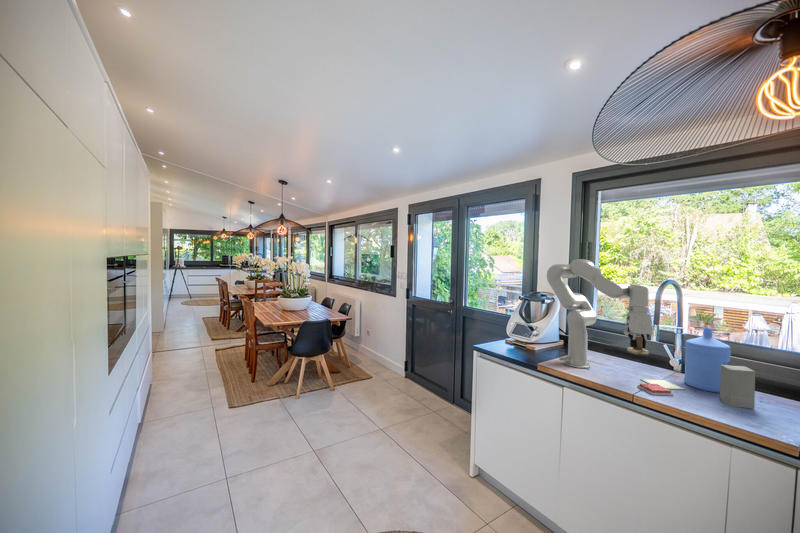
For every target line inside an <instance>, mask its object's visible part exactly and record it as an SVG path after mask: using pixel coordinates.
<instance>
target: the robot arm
mask: <svg viewBox="0 0 800 533" xmlns="http://www.w3.org/2000/svg"><path fill="white" fill-rule="evenodd" d="M577 277H580V278H582V279H583V280H585V281H587V282H589V283H590V284H591V285H592V286H593V287H594V288H595V289H596V290H597V291H599V292H601V294H604V295H605V296H607V297H609V298H612V299H628V307H626V310H627V311H628V312H627V313H626V319H625V328H624V330H623V332H622V333H623V334H624V335H626V336H627V337H628V339H630V340H629V341H630V344H629V345H630V348H636V346H637V340H635V338H636V336H637V335H640V337H643V348H642V349H646V345H647V344H646V343H647V340H648V338H650V337H651V336H652V335H654V332H653V320H652V316H651V313H649V291H650V290H649V286H648V285H646V284H630V283H622V282H621V283H616V282H614V281H612V280H610V279H608V278H606V277H605V275H604V271H603V270H602V269H600V268H599V267H596V266H595V264H594V263H593V262H592V260H589V259H584V258H583V259H581V258H577V259H574V260H572V261H571V262H570V263H569V264H561V263H559V264H552V265H551V266H550V267H549V268H548V269H547V272H546V279H547V283H548V284H549V286H550V287H551V289H552V291H553V292H554V294H555V296H556V298H557V300H558V301H559V303H560V304H561V306H562V307H563V308H564V309H565V310H570V312H568V313H567V316H566V319H567V320H566V322H567V326H568V335H567V336H568V338H567V339H568V340H567V341H568V344H567V355H565V356H559V358H558V360H559V361H563V362H564V364H565V365H567V366H569V367H573V368H577V369H589V368H591V364H590V363H589V362H588V341H589V340H588V338H589V336H588V330H587V326H592V325H594V324H595V323H596V322H597V319H598V318H597V314H596V312H595V310H594V309H593V307H592V305H591V304H590V302H589V301H588V299H587V298H586V296H585V295H583V293H579V292H573V291H572V290H571V288H570V286H569V285H568V283H567V282H566V281H564V280H563V279H573V278H577Z"/></svg>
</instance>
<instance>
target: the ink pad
mask: <svg viewBox="0 0 800 533" xmlns="http://www.w3.org/2000/svg"><path fill="white" fill-rule="evenodd" d="M637 388H638V389H640V390H643V391H644V392H645V393H648V394H650V395H651V396H666V397H668V396H671V397H673V396H674V392H672V390H671V389H666V388H664V387H662V386H660V385H658V384H648V383H639V384H638V385H637ZM667 395H668V396H667Z"/></svg>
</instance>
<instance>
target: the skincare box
mask: <svg viewBox="0 0 800 533" xmlns="http://www.w3.org/2000/svg"><path fill="white" fill-rule="evenodd" d="M719 394H720V396H719V401H721V402H723V403H724V404H725V405H727V406H728V407H735V408H741V409H742V408H743V409H753V410H754V409H755V397H756V371H755V370H753V369H751V368H749V367H748V366H743V365H729V364H727V365H721V383H720V393H719Z"/></svg>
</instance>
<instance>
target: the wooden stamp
mask: <svg viewBox="0 0 800 533" xmlns="http://www.w3.org/2000/svg"><path fill="white" fill-rule="evenodd" d="M635 340H637V346H636V348H633V347H631V346H630V347H629V346H628V347H626V348H627V349H626V352H627V353H629V354H632V355H634V356H649V354H650V352H649V350H647V349H646V348H643V337H640V336H638V335H636V338H635Z"/></svg>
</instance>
